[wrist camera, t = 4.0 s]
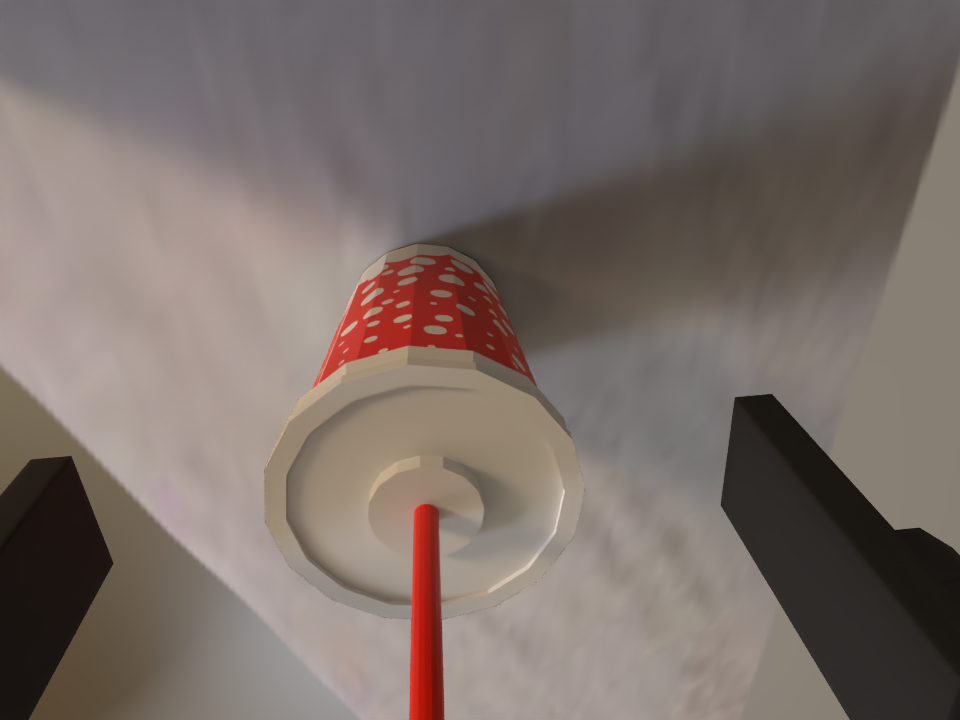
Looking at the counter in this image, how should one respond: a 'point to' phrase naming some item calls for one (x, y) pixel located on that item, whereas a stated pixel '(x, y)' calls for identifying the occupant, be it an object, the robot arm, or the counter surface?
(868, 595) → the robot arm
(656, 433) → the counter surface
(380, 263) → the beverage cup
